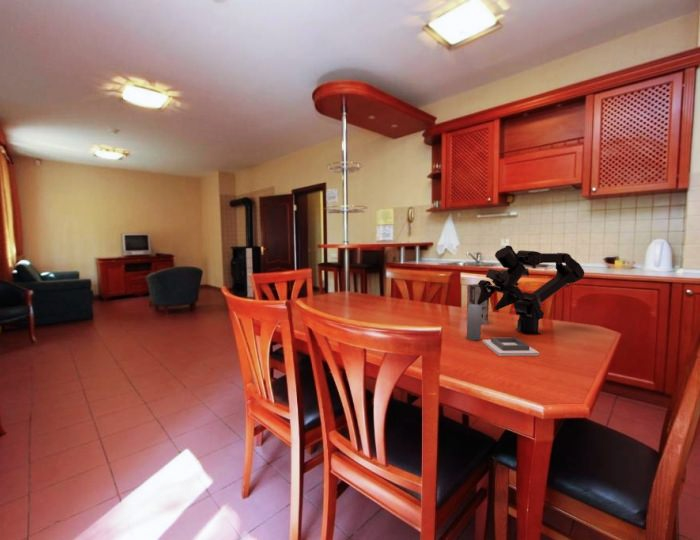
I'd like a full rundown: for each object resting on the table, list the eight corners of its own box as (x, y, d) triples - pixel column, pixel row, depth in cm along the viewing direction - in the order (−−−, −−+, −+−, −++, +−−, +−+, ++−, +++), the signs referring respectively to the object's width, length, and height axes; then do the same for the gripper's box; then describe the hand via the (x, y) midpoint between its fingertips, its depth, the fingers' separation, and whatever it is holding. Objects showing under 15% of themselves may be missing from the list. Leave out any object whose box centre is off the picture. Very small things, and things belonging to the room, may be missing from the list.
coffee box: (488, 324, 143) (490, 287, 141) (473, 323, 143) (475, 287, 141) (480, 318, 152) (482, 283, 150) (466, 318, 152) (467, 283, 150)
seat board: (518, 342, 119) (518, 335, 119) (539, 355, 106) (539, 348, 106) (482, 342, 119) (482, 335, 118) (499, 355, 106) (499, 348, 106)
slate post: (477, 336, 126) (478, 304, 124) (482, 340, 121) (484, 307, 119) (464, 336, 125) (466, 304, 124) (469, 340, 121) (470, 307, 119)
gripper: (482, 259, 132) (458, 288, 130) (520, 264, 114) (492, 297, 112) (497, 278, 135) (474, 306, 133) (536, 285, 118) (509, 318, 116)
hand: (486, 306), depth 123 cm, fingers open, 9 cm apart
